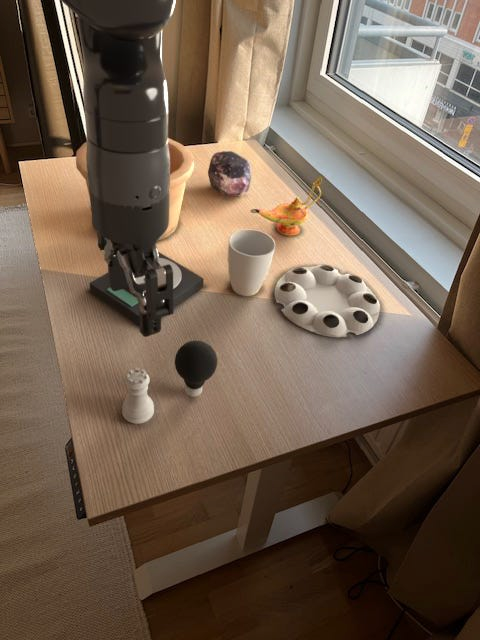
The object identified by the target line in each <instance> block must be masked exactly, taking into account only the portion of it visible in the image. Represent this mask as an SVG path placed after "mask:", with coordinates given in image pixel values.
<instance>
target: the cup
mask: <svg viewBox="0 0 480 640" xmlns="http://www.w3.org/2000/svg"><path fill="white" fill-rule="evenodd" d="M275 251H276V241H275V240H274V238H273V236H271V235H270V234H268V233H266V232H264V231H261V230H258V229H254V228H253V229H252V228H245V229H244V228H243V229H239V230H236V231H234V232H232V233H231V234H230V236H229V237H228V248H227V267H228V277H229V280H230V284H231V289H232V290H233V291H234V292H235V293H236V294H237V295H240V296H243V297H253V296H254V295H256V294H258V292H259V291H260V289H261V288H262V286H263V284H264V283H265V281H266V278H267V276H268V274H269V271H270V268H271V266H272V261H273V258H274V254H275Z"/></svg>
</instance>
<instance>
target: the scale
mask: <svg viewBox="0 0 480 640" xmlns="http://www.w3.org/2000/svg"><path fill="white" fill-rule="evenodd" d="M158 254H159V257H158V262H159V264H160V265H161V266H164V265H168V264H170V265H171V267H172V269H173V308H174V307H177V306H178V305H180V304H181V303H182V302H184V301H185V300H186V299H188V298H190V297H191V296H192V295H194V294H195V293H197V292H198V291H200V290H201V289H203V288H204V281H205V278H204V277H202V276H200V275H199V274H197V273H195V272H194V271H192V270H190V269H189V268H187V267H185V266H183V265H181V264H180V263H179V262H177V261H175V260H173V259H172V258H170V257H169V256H167V255H165V254H163V253H161V252H160V251H158ZM144 278H145V276H142V277H139V278H135V280H136V283H137V284H141V283H144V280H143V279H144ZM89 290H90V293H91V294H93V295H95V297H98V298H99V299H101V300H102V301H103V302H105V303H106V304H107V305H109V306H111V307H112V308H114V309H115V310H116V311H118V312H119V313H121V314H122V315H124V316H125V317H127V318H128V319H130V320H131V321H133V322H134V323H135V324H138V325H139V326H140V311H139V308H140V307H139V304H138V301H137V297H136V294H135V293H132V292H131V291H130V290H129V286H128V287H127V288H125V289H121V290H118V291H113V290H112V289H111V288H110V285H109V273H108V272H106V273H105V274H103V275H101V276H99V277H97V278H96V279H94V280H92V281H90V282H89ZM144 296H145V300H146V290H145V291H144Z"/></svg>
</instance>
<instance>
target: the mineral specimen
mask: <svg viewBox="0 0 480 640" xmlns="http://www.w3.org/2000/svg"><path fill="white" fill-rule="evenodd" d="M207 175H208V180H209V183H210V187H211V188H212V190H214V191H215V192H217V193H218V194H220V195H221V196H223V197H227V198H228V197H236V196H242V195H245V194H247V193H248V192H249V190H250V185H251V181H252V168H251V164H250V161H249V160H248V159H246V158H244V156H242V155H240V154H238V153H236V152H234V151H230V150H227V151H226V150H225V151H224V150H223V151H217V152H215V153H214V154H213V155H212V156H211V158H210V161H209V165H208V170H207Z"/></svg>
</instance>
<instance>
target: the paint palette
mask: <svg viewBox="0 0 480 640" xmlns="http://www.w3.org/2000/svg"><path fill="white" fill-rule="evenodd" d="M325 269H328V270H325ZM296 271H298V272H304V273H295V272H296ZM350 278H351V279H350ZM352 279H355V280H357V281H358V282H356V281H354V280H352ZM289 285H293V286H294V287H295V288H294V289H293V290H291V291H284V290H283V289H281V287H282V286H289ZM364 296H367V297H369V298H371V299H372V300H374V301H375V303H370V302H369V301H367V300H366V299H365V298H364ZM274 299H275V302H276V304H280V305H282V306H283V308H281V309H280V311H281V312H282V314H283V316H284V317H286V318H287V319H288V320H289V321H290V322H292V323H293V324H294V325H296V326H298V327H300V328H302V329H304V330H306V331H308V332H311V333H314V334H317V335H320V336H324V337H329V338H347V337H348V335H347V334H348V333H352V334H354V335H355V336H357V335H360V334H364V333H366V332H368V331H370V330H371V329H372V328H373V327H374V325H375V324H376V323H377V321H378V319H379V317H380V310H381V304H380V300H378V298H377V296H376V295H375V294H374V292H373V290H371V289H370V287H369V286H367V285H366V283H365V281H364V280H363V279H362V278H361V277H360V276H358V275H356V274H352V273H345V274H341V273H340V272H339V270H338V269H336V268H335V267H334V266H331V265H328V264H318V265H316V266H304V267H293V268H291V269H289V270H287V272H285V274H283V275H282V276H281V277H280V278H279V280H278V281H277V282H276V285H275V287H274ZM297 304H303V305H305V306H306V307H307V311H306V312H304V313H296V312H294V311H293V307H294V306H295V305H297ZM355 312H361V313H364V314H365V316H366V317H367V321H366V322H360V321H358V320H357V319H356V318H355V316H354V313H355ZM327 316H333V317H335V318H336V319H337V321H338V325H336V326H335V327H329V326H327V325H326V323H324V319H325V317H327Z"/></svg>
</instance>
